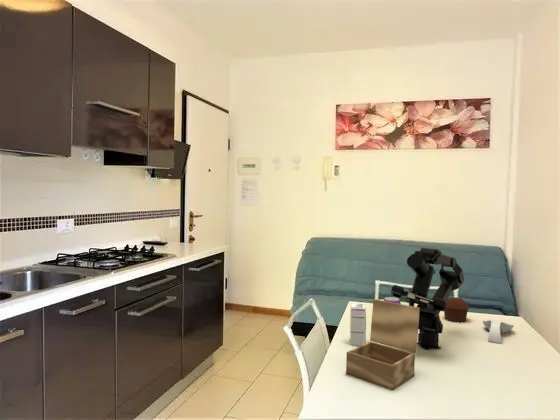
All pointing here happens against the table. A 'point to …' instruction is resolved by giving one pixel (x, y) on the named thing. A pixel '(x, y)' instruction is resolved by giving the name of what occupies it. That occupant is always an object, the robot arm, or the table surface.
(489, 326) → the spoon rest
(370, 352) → the brown wooden box base
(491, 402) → the table surface
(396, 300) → the beverage can
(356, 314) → the syrup box
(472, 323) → the table surface
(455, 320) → the muffin
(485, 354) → the table surface
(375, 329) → the lid
